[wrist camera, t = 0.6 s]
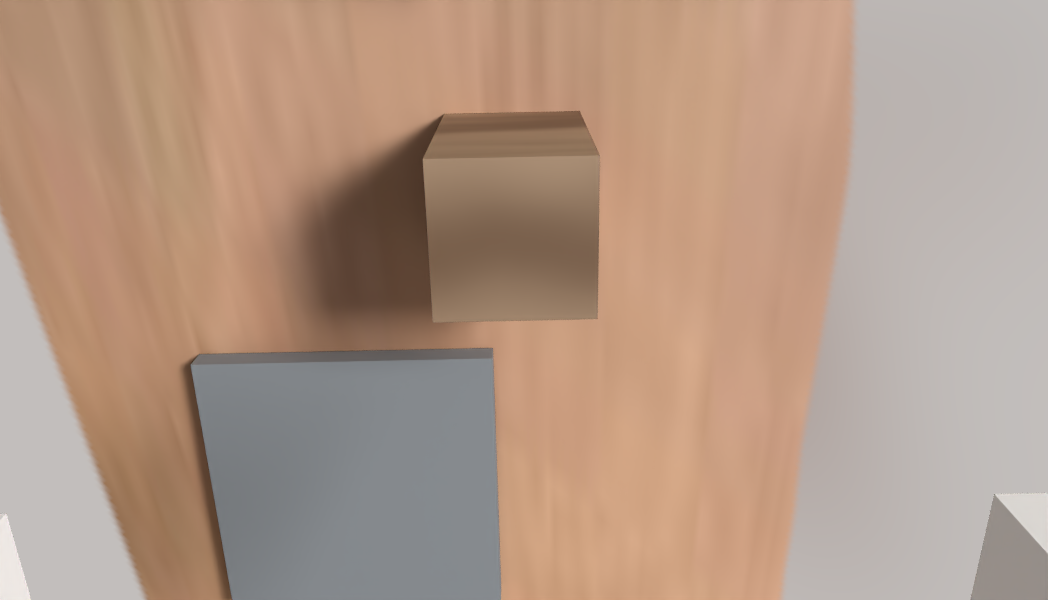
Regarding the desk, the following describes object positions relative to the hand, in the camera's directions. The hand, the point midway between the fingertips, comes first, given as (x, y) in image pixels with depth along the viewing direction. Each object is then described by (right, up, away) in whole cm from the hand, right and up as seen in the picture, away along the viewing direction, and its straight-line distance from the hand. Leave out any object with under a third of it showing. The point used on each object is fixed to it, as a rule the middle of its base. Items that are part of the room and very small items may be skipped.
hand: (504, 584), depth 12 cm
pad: (-7, -4, +25) cm, 27 cm away
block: (0, +8, +21) cm, 22 cm away
